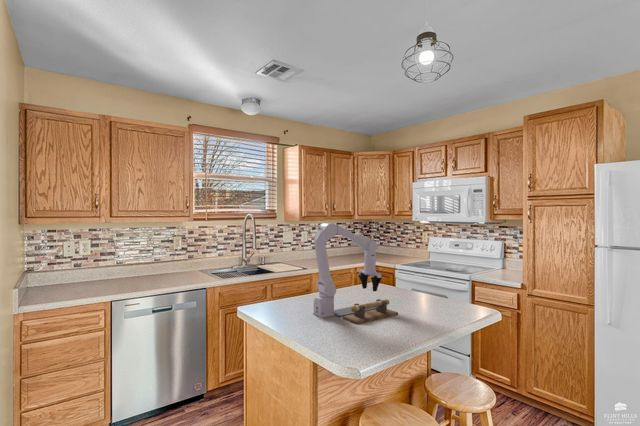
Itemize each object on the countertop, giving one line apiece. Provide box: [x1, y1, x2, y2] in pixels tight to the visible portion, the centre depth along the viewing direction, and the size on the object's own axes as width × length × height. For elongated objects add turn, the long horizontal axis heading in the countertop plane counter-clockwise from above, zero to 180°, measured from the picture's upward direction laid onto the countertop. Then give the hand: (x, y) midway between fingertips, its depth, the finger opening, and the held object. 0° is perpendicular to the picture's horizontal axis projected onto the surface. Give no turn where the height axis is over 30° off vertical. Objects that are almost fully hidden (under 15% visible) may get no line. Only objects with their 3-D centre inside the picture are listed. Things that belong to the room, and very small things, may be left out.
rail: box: [350, 299, 390, 312], centre depth 161 cm, size 22×2×2 cm, turn 124°
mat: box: [334, 306, 376, 318], centre depth 170 cm, size 26×9×1 cm, turn 124°
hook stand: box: [342, 298, 399, 325], centre depth 161 cm, size 26×10×6 cm, turn 124°
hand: (369, 289), depth 174 cm, fingers open, 7 cm apart
